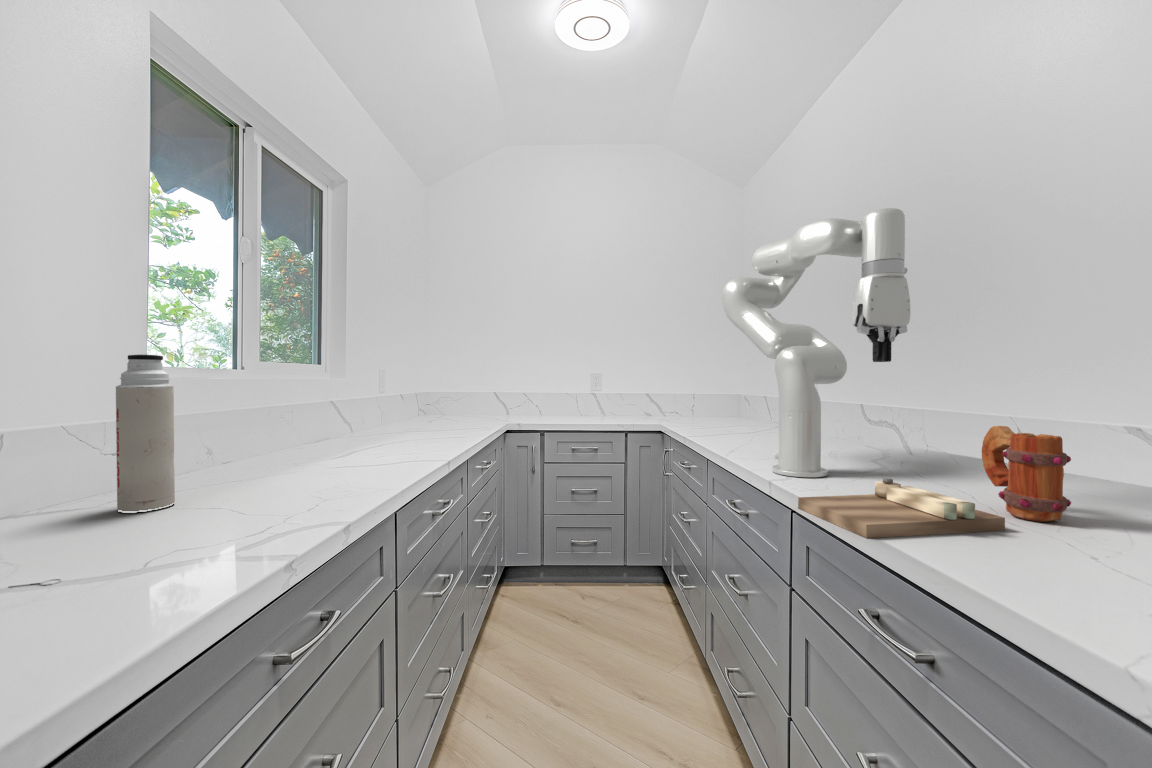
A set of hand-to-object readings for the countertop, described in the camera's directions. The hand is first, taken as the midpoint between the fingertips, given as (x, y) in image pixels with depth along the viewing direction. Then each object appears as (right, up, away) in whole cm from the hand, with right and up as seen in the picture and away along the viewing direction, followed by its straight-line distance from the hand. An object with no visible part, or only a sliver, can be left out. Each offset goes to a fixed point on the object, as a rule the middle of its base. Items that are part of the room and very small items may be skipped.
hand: (881, 361), depth 102 cm
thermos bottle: (-141, -28, -11) cm, 144 cm away
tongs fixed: (-4, -25, -18) cm, 31 cm away
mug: (+15, -28, -16) cm, 35 cm away
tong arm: (-5, -25, -18) cm, 31 cm away
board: (-9, -27, -18) cm, 34 cm away
